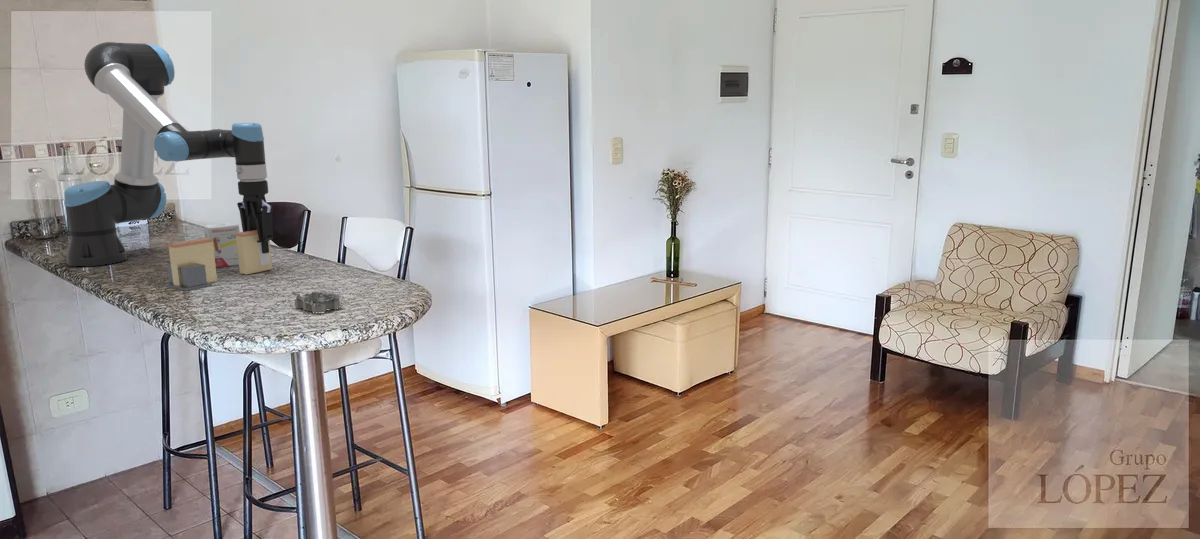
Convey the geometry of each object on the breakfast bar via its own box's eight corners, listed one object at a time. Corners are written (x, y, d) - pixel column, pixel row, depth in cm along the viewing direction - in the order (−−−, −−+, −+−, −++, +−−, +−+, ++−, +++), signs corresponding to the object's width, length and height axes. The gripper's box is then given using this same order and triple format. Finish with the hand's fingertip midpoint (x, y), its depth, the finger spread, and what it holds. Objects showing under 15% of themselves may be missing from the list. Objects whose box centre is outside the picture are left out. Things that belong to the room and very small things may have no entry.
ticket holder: (164, 285, 203) (158, 242, 201) (203, 278, 212) (198, 236, 209) (185, 290, 198) (180, 246, 195) (224, 282, 206) (220, 240, 204)
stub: (239, 273, 217) (235, 233, 214) (265, 267, 223) (261, 228, 221) (246, 274, 215) (242, 234, 212) (272, 269, 221) (268, 229, 219)
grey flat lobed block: (290, 308, 182) (289, 291, 181) (320, 302, 187) (318, 285, 187) (315, 316, 175) (313, 298, 174) (345, 309, 181) (343, 292, 180)
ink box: (212, 268, 224) (207, 227, 221) (207, 265, 227) (202, 225, 225) (243, 264, 229) (239, 224, 227) (238, 261, 233) (234, 222, 230)
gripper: (222, 179, 216) (232, 262, 221) (257, 183, 207) (265, 269, 212) (248, 177, 222) (256, 258, 227) (282, 180, 213) (290, 264, 219)
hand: (260, 263), depth 220 cm, fingers closed on stub, 3 cm apart
